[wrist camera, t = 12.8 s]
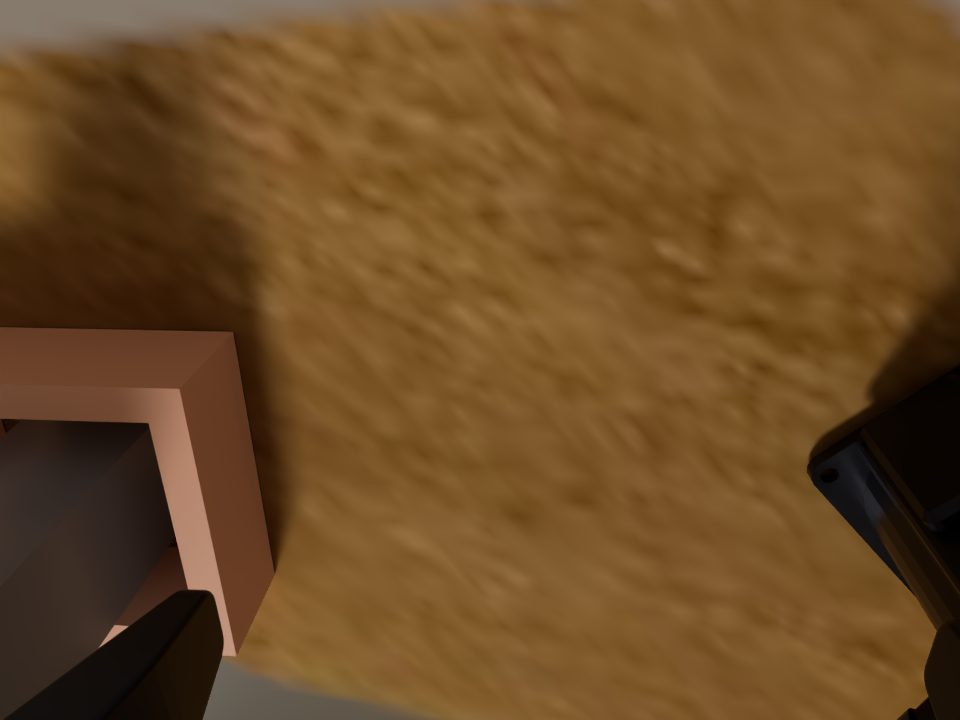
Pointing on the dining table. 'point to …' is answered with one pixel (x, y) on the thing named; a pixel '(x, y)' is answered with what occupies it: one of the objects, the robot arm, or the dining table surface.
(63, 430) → the plug
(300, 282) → the dining table surface
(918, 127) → the dining table surface
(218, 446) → the socket
